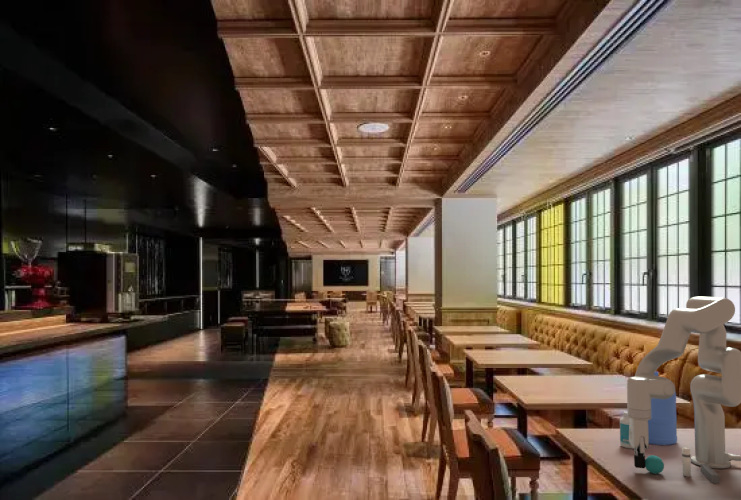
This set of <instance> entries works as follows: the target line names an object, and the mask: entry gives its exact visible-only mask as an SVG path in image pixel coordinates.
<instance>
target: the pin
mask: <svg viewBox="0 0 741 500" xmlns="http://www.w3.org/2000/svg"><path fill="white" fill-rule="evenodd" d="M681 456H682V460H681V461H682V463H681V464H682V476H683V477H688V478H689V477H692V473H691V472H692V471H691V469H692V467H691V448H690V447H682V448H681Z"/></svg>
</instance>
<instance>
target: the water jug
mask: <svg viewBox="0 0 741 500" xmlns="http://www.w3.org/2000/svg"><path fill="white" fill-rule="evenodd" d="M654 375H655V376H659V371H655V373H654ZM677 418H678V417H677V393H676V391H675V393H674V395H673V396H672V397H670V398H668V399H656V398H652V399H651V419H650V420H648V433H649V445H655V446H672V445H675V444H677V443H678V436H677V434H678V432H677V428H678V427H677V421H678V419H677Z"/></svg>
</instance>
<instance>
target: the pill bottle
mask: <svg viewBox="0 0 741 500" xmlns="http://www.w3.org/2000/svg"><path fill="white" fill-rule="evenodd" d="M622 415H623V416H622V417H620V418H619V444H620V446H621V447H622V448H624V449H629V450H630V449H631V450H633V449H634V448H633V447H632V446H631V444H630V443H629V421H630V418H629V417H627V410H624V411H623V413H622Z"/></svg>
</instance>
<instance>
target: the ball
mask: <svg viewBox="0 0 741 500" xmlns="http://www.w3.org/2000/svg"><path fill="white" fill-rule="evenodd" d="M664 468H665V463H664V461H663V459H662V458H661V457H659V456H657V455H656V454H655V455H649V456H646V457H645V469H646V470H647V471H648V473H651V474H652V475H653V474H654V475H658V474H660V473H662V472H663V471H664Z"/></svg>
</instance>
